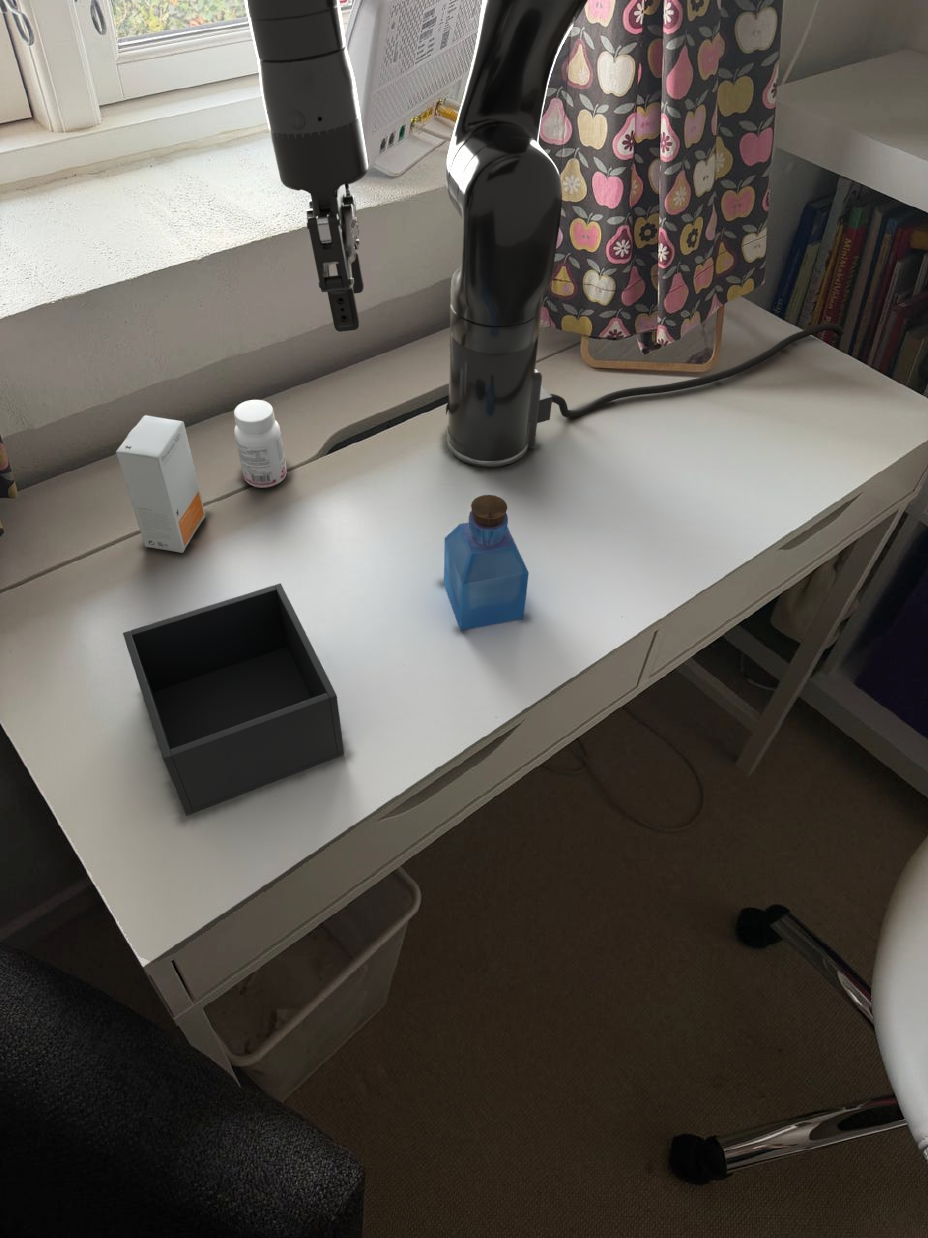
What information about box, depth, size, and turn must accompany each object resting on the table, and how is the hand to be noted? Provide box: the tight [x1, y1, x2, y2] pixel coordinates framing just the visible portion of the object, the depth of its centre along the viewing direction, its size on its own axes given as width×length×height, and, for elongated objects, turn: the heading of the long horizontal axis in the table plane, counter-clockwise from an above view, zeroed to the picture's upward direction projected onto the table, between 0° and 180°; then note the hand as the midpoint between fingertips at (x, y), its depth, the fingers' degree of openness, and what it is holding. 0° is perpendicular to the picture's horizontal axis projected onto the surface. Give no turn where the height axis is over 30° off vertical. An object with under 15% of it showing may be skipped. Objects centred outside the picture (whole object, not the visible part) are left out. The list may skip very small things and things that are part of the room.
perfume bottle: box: [443, 494, 530, 631], centre depth 81 cm, size 6×6×12 cm
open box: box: [122, 583, 345, 816], centre depth 72 cm, size 13×13×8 cm
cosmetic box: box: [115, 414, 206, 554], centre depth 86 cm, size 6×4×12 cm
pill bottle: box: [233, 399, 288, 489], centre depth 94 cm, size 5×5×8 cm
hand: (350, 309), depth 83 cm, fingers open, 8 cm apart
